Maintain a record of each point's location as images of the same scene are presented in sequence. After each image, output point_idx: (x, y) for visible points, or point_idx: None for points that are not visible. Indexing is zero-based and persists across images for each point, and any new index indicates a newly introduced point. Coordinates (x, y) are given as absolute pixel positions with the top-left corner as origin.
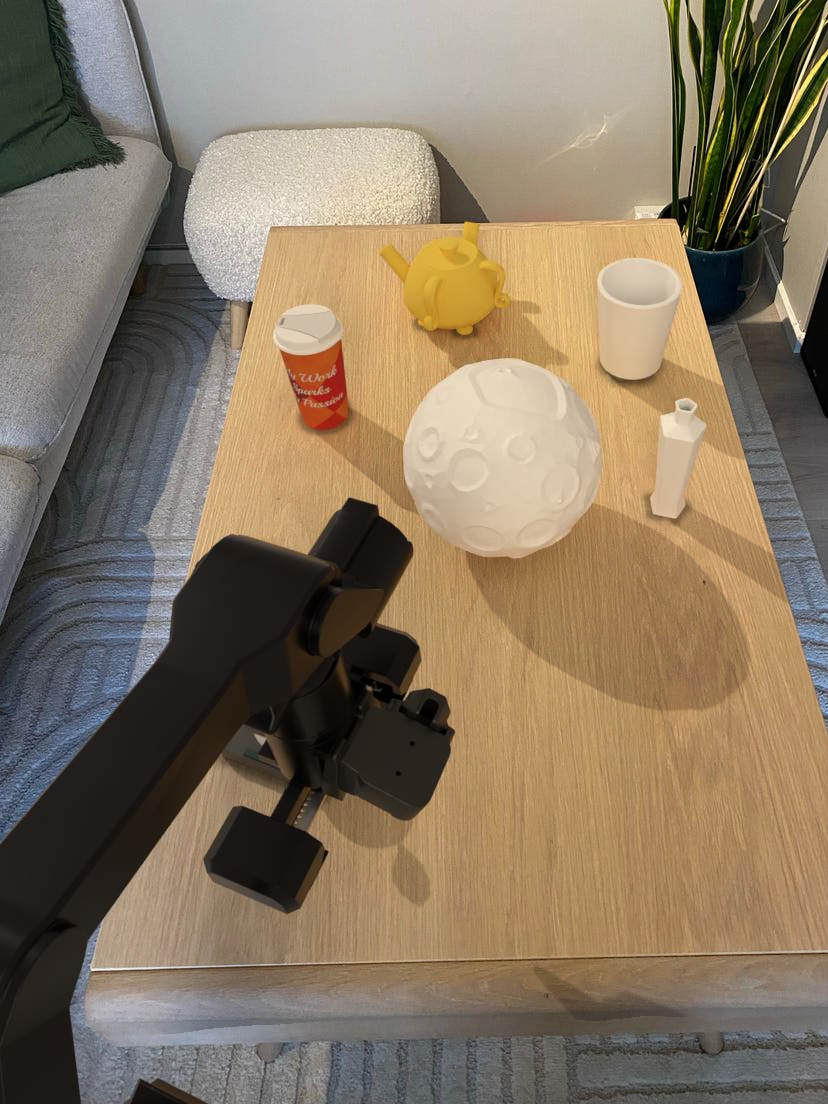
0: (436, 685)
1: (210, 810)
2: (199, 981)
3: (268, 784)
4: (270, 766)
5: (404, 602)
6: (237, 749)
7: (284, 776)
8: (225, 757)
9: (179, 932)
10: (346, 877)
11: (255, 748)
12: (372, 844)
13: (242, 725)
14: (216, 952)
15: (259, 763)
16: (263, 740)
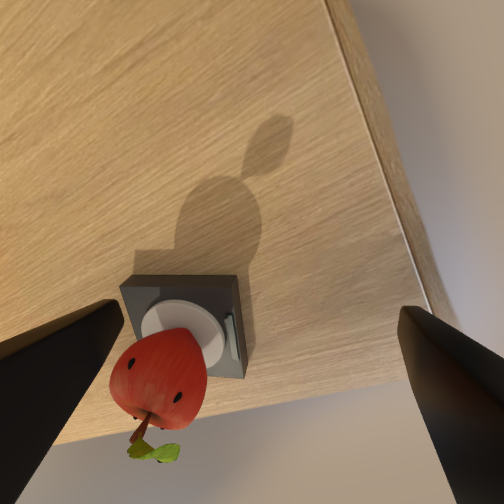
0: (83, 224)
1: (293, 352)
2: (441, 297)
3: (250, 321)
4: (236, 335)
5: (43, 288)
6: (237, 364)
7: (238, 317)
8: (247, 361)
9: None
10: (297, 215)
11: (228, 352)
12: (254, 206)
13: (216, 369)
14: (410, 295)
15: (239, 344)
16: (218, 352)
